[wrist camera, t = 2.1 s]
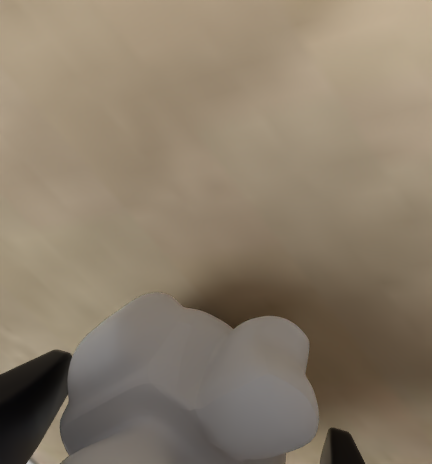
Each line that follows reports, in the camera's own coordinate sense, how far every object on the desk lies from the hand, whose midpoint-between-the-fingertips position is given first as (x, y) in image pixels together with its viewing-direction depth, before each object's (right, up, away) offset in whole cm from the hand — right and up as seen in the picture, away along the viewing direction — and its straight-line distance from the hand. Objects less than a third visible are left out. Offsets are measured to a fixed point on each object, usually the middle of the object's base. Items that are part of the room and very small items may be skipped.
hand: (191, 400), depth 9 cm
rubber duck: (+1, +1, +2) cm, 2 cm away
